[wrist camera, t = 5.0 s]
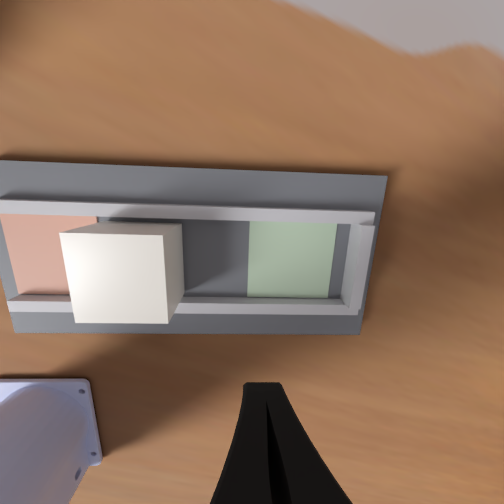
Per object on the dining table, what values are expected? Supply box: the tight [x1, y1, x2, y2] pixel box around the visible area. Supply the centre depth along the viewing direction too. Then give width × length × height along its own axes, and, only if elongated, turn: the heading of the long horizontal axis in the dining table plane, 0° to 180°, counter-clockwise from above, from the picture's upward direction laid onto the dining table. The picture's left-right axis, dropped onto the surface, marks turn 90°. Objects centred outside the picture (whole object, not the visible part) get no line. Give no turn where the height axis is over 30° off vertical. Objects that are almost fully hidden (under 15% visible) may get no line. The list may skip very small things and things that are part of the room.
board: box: [0, 160, 388, 335], centre depth 17 cm, size 12×26×3 cm, turn 88°
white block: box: [59, 221, 185, 324], centre depth 15 cm, size 5×5×4 cm
